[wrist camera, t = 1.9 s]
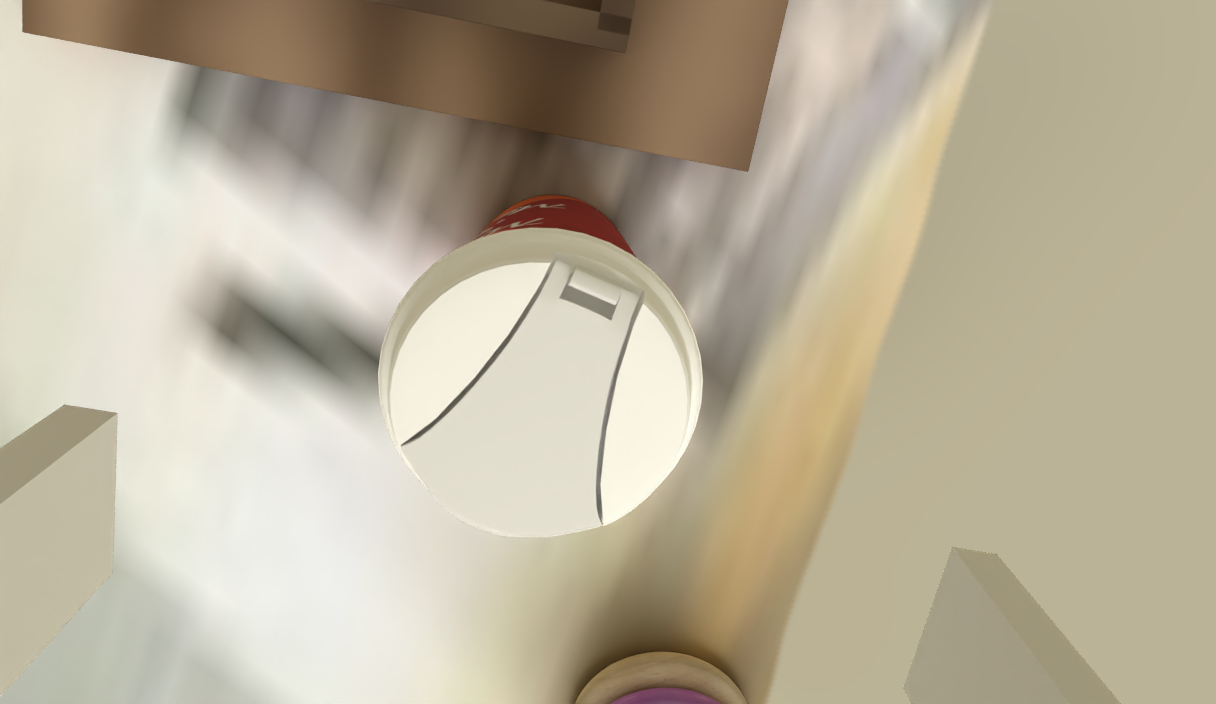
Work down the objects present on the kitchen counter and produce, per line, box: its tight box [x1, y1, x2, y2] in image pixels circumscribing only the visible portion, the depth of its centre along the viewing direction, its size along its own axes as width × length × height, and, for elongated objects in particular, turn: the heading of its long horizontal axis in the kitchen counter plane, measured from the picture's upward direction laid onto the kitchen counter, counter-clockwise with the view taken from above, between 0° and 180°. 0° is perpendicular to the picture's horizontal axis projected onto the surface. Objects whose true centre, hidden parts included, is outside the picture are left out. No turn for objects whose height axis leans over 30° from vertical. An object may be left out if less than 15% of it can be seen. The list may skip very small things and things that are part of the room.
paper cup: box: [378, 195, 703, 537], centre depth 27 cm, size 8×8×14 cm
